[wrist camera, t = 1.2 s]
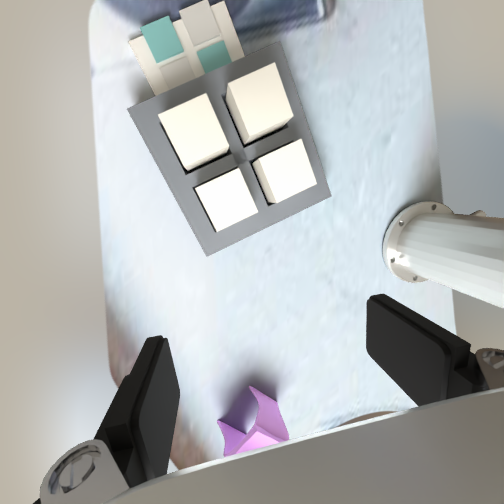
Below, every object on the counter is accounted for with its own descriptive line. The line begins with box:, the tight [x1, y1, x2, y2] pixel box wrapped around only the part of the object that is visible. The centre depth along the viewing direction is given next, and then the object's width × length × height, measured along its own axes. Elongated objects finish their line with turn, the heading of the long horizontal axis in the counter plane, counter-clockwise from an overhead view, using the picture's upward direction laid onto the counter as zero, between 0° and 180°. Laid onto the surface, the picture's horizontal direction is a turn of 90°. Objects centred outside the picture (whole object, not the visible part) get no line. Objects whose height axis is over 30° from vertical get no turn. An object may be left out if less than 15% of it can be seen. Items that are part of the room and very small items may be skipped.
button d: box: [158, 93, 229, 171], centre depth 23 cm, size 5×5×4 cm
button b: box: [195, 168, 258, 232], centre depth 25 cm, size 5×5×4 cm
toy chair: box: [217, 386, 289, 457], centre depth 31 cm, size 8×9×15 cm
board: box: [127, 0, 331, 256], centre depth 26 cm, size 17×24×4 cm
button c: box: [226, 62, 293, 145], centre depth 24 cm, size 5×5×4 cm
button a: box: [252, 139, 317, 203], centre depth 26 cm, size 5×5×4 cm
